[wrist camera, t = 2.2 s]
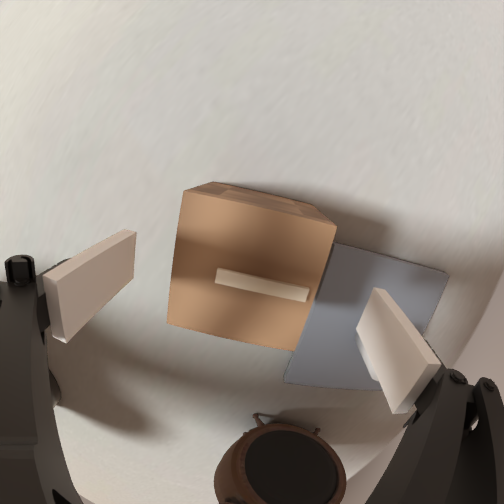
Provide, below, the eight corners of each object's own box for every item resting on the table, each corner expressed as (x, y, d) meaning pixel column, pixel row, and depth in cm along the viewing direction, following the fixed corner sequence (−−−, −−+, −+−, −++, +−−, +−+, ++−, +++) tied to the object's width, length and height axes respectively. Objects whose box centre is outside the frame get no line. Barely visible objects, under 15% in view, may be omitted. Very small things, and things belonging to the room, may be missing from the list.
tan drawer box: (195, 274, 23) (165, 325, 16) (212, 181, 21) (182, 191, 13) (286, 294, 24) (294, 353, 16) (311, 204, 21) (338, 227, 13)
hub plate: (283, 376, 27) (286, 419, 21) (332, 241, 22) (353, 267, 16) (385, 385, 27) (401, 420, 21) (444, 272, 22) (478, 297, 17)
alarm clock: (342, 421, 29) (369, 553, 10) (314, 447, 31) (325, 564, 12) (237, 397, 28) (217, 561, 9) (218, 427, 30) (195, 561, 11)
